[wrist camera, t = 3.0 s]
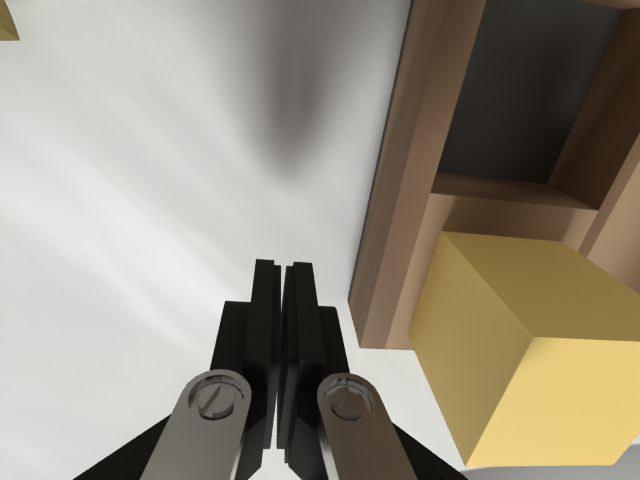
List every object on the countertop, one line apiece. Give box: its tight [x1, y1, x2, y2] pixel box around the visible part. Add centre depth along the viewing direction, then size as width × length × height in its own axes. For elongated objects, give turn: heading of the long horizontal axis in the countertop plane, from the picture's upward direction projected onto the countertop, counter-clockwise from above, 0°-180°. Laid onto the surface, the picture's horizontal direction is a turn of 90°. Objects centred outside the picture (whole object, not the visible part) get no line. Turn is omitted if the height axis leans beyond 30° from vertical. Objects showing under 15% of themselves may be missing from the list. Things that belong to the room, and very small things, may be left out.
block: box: [408, 231, 640, 467], centre depth 11 cm, size 4×4×5 cm
